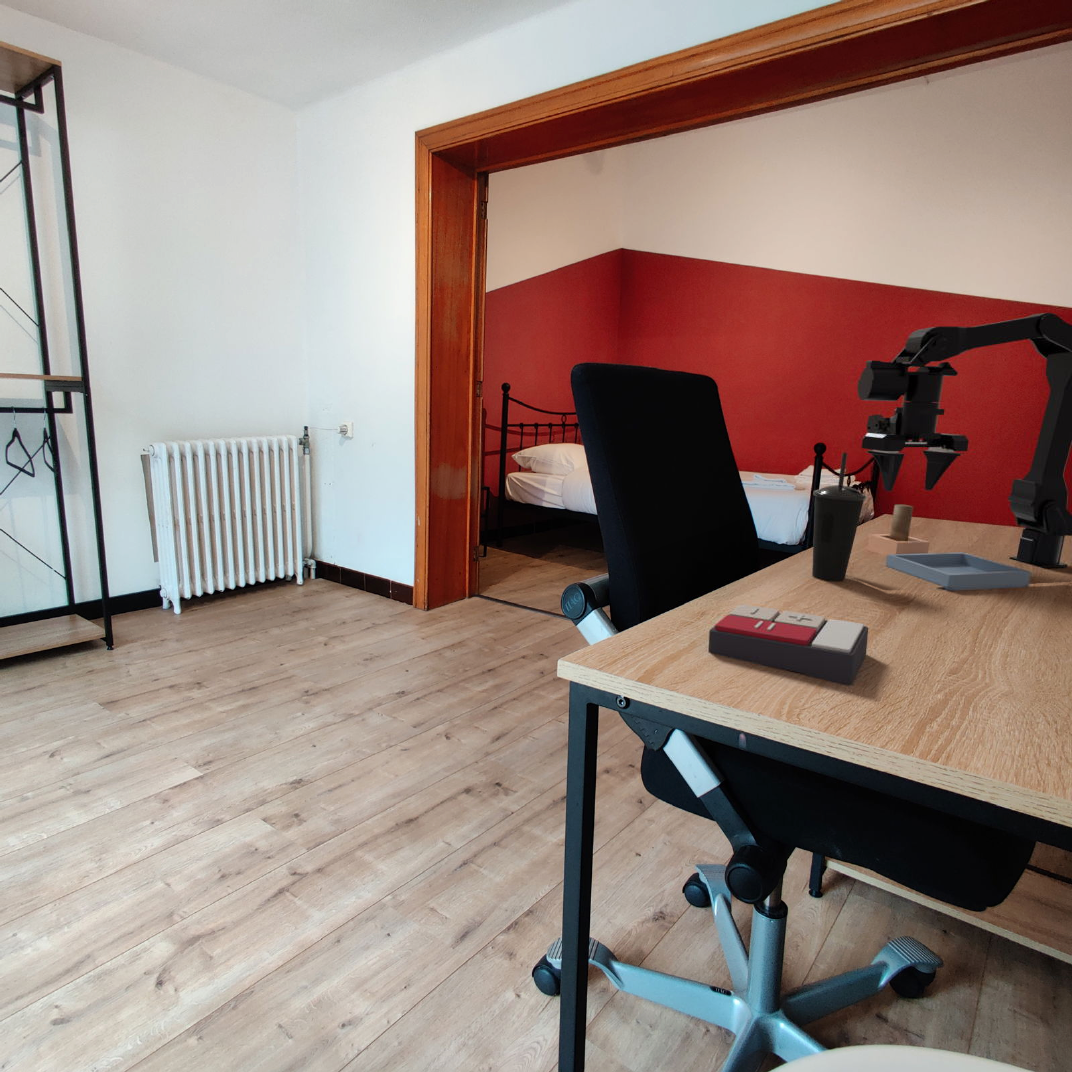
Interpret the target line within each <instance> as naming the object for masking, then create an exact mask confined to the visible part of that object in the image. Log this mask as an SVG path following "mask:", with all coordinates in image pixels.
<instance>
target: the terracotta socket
mask: <svg viewBox="0 0 1072 1072" xmlns="http://www.w3.org/2000/svg"><path fill="white" fill-rule="evenodd" d="M868 535H869V536H868V540H867V541H868V542H867V549H866V550H867V551H868V552H871V553H874V554H876V555H880V556H882V557H886V558H887V555H890V554H922V553H929V548H930V541H928V540H924V539H920V538H916V537H914V536H913V537H912V536H909V537H908V541H896V540H892V539H890V533H879V534H878V533H875V534H874V533H873V534H868Z"/></svg>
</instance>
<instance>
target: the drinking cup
mask: <svg viewBox="0 0 1072 1072" xmlns="http://www.w3.org/2000/svg"><path fill="white" fill-rule="evenodd" d="M847 460H848V452H842V454H841V463H840V468H839V469H840V470H839V478H838V483H837V484H838V485H835V484H834V485H827V486H824V487H821V488H819V489H815V490H814V491H813V493H812V494H813V496H814V515H813V539H812V540H813V542H812V544H813V545H812V546H813V547H812V571H811V572H812V577H813V578H816V579H819V580H823V581H828V582H842V581H844V580H845V579H846V574H847V570H848V566H849V563H850V558H851V554H852V550H853V545H854V542H855V539H856V538H855V537H856V533H857V529H858V525H859V521H860V516H861V513H862V512H861V511H862V508H863V504H864V501H865V500H866V499H867V495H866V494H863V493H862V492H861V491H859V490H858V489H855V488H853V487H850V486H848V485H847V486H846V485H844V481H845V476H846V475H845V473H846V467H847Z"/></svg>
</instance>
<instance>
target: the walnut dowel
mask: <svg viewBox="0 0 1072 1072" xmlns="http://www.w3.org/2000/svg"><path fill="white" fill-rule="evenodd" d="M913 511H914V506H912V505H907V504H894V507H893V513H892V521H891V527H890V533H889V534H890V539H892V540H896V541H908V537H909V535H910V530H911V529H910V528H911V523H912V517H913Z"/></svg>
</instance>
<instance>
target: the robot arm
mask: <svg viewBox="0 0 1072 1072" xmlns="http://www.w3.org/2000/svg"><path fill="white" fill-rule="evenodd" d="M1024 340H1029V341H1030V342H1031V345H1032V346H1033V348H1034V349H1035V351H1036V353H1038V354H1039V355H1040V356H1041V357H1042V358H1044V359H1046V364H1045V365H1046V366H1045V376H1046V380H1047V382H1048V386H1049V395H1048V399H1047V402H1046V406H1045V411H1044V416H1043V418H1042V421H1041V427H1040V431H1039V434H1038V437H1037V443H1036V446H1035V450H1034V454H1033V458H1032V462H1031V466H1030V469H1029V471H1028V473H1027V474H1025V475H1024V477H1023V478H1022V479H1019V478H1013V481H1012V484H1011V492H1010V494H1009V496H1008V498H1007V499H1006V501H1008V502H1009V501H1010V502H1009V503H1010V504H1009V508H1010V511H1011V512H1012V513H1013V515H1014V517H1015V524H1016V526H1018V527H1023V529H1022V532H1021V533H1022V534H1021V537H1020V538H1019V541H1018V542H1019V543H1018V547H1017V553H1016V556H1009V558H1008V559H1009V560H1011V561H1012V560H1013V561H1016V562H1020V563H1022V564H1027V565H1029V566H1034V567H1038V568H1041V569H1045V568H1046V569H1048V568H1051V569H1052V568H1068V565H1069V564H1068V563H1064V562H1061V558H1062V551H1063V549H1064V544H1065V543H1064V542H1065V537H1067V536H1068V537H1072V514H1071V513H1070V512H1069V510H1068V499H1069V490H1068V486H1067V484H1066V481H1065V477H1064V474H1065V469H1066V465H1067V462H1068V458H1069V455H1070V450H1071V447H1072V324H1070V323H1068V322H1067V321H1065V320H1064V319H1063V318H1062V317H1060V316H1059V315H1057V314H1055V313H1052V312H1044V313H1037V314H1036V313H1035V314H1031V315H1029V316H1026V317H1021V318H1016V319H1010V320H1004V321H999V322H998V321H997V322H993V323H986V324H981V325H975V326H954V325H953V326H949V325H948V326H946V325H945V326H934V327H928V328H921V329H920V328H919V329H917V330H914V331H913V332H911V333H910V335H909V336H908V337H907V340H906V341H905V346H904V347H903V348H902V350H900V351H899V353H898V354H897V355H896V356H895V357H894V358H893V359H892V361H881V360H873V359H872V360H867V361H866V362H865V363H866V364H865V368H864V369H863V371H862V372H861V374H860V376H859V379H858V381H857V394H858V398H859V399H860V400H861V401H871V402H873V401H876V402H877V401H880V402H897V401H898V400H899V399H900V398H902V397H903V399H902V405H901V406H900V407H899V406H896V409H894V413H893V414H894V415H893V416H891V417H884V416H883V415H882V414H872V415H869V416H868V419H867V422H866V431H867V433H865V434H864V436H863V437H862V440H861V441H862V442H861V449H864V450H866V453H867V454H870V455H871V456H872V457H873V458H874V459H875V460H876V462H877V465H878V466H879V471H880V475H881V479H882V483H883V488H884V491H885V492H893V488H894V486H895V484H896V481H897V477H898V475H899V472H900V469H901V466H902V463H903V461H904V458H905V453H904V452H902V453H901V451H903V449H904V448H926V449H922V453H923V454H924V455H923V456H924V457H925V458H926V469H925V478H924V489H925V490H926V491H932V490H933V489H934V488H935V486H936V485H937V484H938V482H939V480H940V479H942V477H943V475H944V474H945V472H946V471H947V469H949V468H950V466H951V465H952V464H953V462H954V461H955V460H956V459H957V458H958V457H961V456H962V453H961V452H968V448H969V439H968V438H967V436H966V435H965V434H955V433H954V434H953V433H944V432H943V433H941V432H937V430H936V429H937V424H938V417H939V416H943V415H945V408H940V403H941V399H942V398H941V397H942V390H943V383H944V377H957V376H958V375H959V374H958V373H959V372H958V371H957V370H956V369H955V368H954V367H953V366H952V365H951V363H950V362H949V361H945V360H947V359H951V358H953V357H956V356H959V355H961V354H963V353H965V352H968V351H971V350H974V349H978V348H983V347H984V348H985V347H989V346H994V345H995V346H996V345H1002V344H1007V343H1012V342H1020V341H1024ZM932 362H933V363H935V362H940V363H939V364H937V365H928V364H930V363H932ZM910 368H917V369H916V370H915V371H909V369H910ZM901 396H902V397H901Z"/></svg>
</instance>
